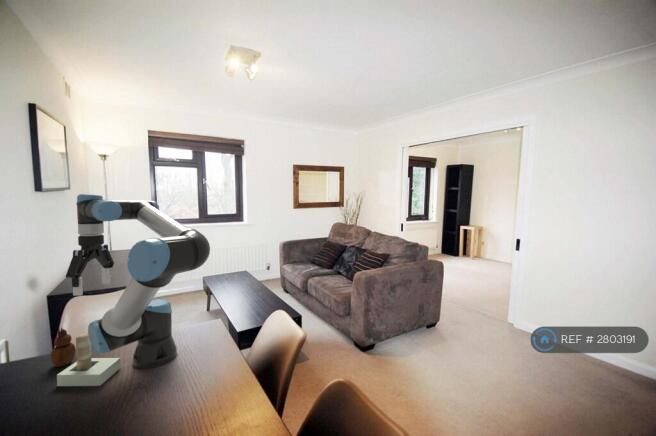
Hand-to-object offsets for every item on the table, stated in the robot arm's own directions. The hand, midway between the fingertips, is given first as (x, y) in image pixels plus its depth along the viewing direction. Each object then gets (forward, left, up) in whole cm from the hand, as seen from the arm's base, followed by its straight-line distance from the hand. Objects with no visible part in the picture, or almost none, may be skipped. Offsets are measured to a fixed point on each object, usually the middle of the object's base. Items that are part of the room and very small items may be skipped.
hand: (92, 289), depth 108 cm
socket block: (-6, +10, -29) cm, 31 cm away
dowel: (-4, +10, -29) cm, 31 cm away
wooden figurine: (+10, +2, -29) cm, 31 cm away
